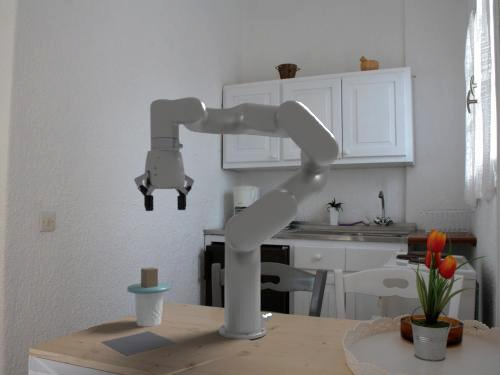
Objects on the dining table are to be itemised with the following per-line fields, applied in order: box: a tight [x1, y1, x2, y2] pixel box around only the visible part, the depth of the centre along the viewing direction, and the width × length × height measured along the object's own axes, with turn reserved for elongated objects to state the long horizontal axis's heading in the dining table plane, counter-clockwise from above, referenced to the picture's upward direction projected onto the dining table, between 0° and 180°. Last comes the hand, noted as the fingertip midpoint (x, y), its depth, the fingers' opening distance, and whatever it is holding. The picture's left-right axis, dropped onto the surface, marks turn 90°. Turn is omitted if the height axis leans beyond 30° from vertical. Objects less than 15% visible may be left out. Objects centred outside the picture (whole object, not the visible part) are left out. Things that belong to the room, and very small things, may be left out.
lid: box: [126, 267, 172, 294], centre depth 119 cm, size 12×12×6 cm
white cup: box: [134, 292, 164, 328], centre depth 119 cm, size 8×8×10 cm
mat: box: [101, 330, 177, 357], centre depth 101 cm, size 13×13×1 cm
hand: (166, 210), depth 111 cm, fingers open, 9 cm apart
